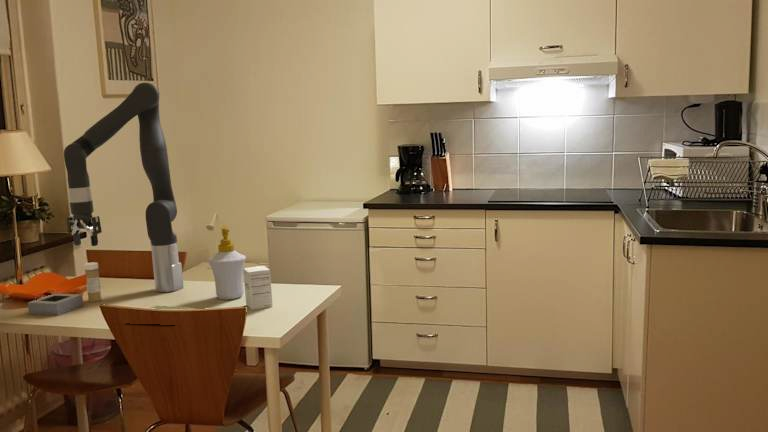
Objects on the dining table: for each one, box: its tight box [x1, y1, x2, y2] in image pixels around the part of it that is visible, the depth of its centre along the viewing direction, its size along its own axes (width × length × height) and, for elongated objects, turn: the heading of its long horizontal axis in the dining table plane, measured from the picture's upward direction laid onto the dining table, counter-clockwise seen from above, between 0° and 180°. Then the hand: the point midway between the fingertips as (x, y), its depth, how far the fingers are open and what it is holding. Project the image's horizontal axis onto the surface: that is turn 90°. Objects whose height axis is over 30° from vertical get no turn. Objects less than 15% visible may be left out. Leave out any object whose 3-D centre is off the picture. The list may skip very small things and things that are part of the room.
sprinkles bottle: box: [83, 261, 102, 303], centre depth 255 cm, size 5×5×13 cm
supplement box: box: [243, 265, 273, 311], centre depth 237 cm, size 7×7×13 cm
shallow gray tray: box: [27, 292, 84, 317], centre depth 252 cm, size 26×21×4 cm
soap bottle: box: [208, 225, 247, 301], centre depth 250 cm, size 13×13×25 cm
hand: (86, 245), depth 257 cm, fingers open, 8 cm apart
